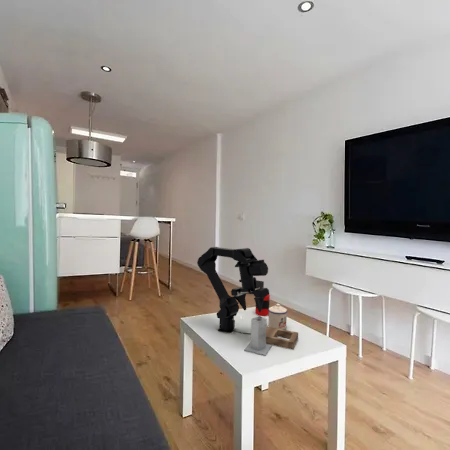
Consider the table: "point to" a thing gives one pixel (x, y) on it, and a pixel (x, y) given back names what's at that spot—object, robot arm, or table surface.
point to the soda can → (264, 307)
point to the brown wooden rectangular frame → (273, 340)
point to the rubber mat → (260, 352)
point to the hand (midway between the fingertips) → (252, 311)
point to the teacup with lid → (277, 317)
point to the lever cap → (258, 333)
